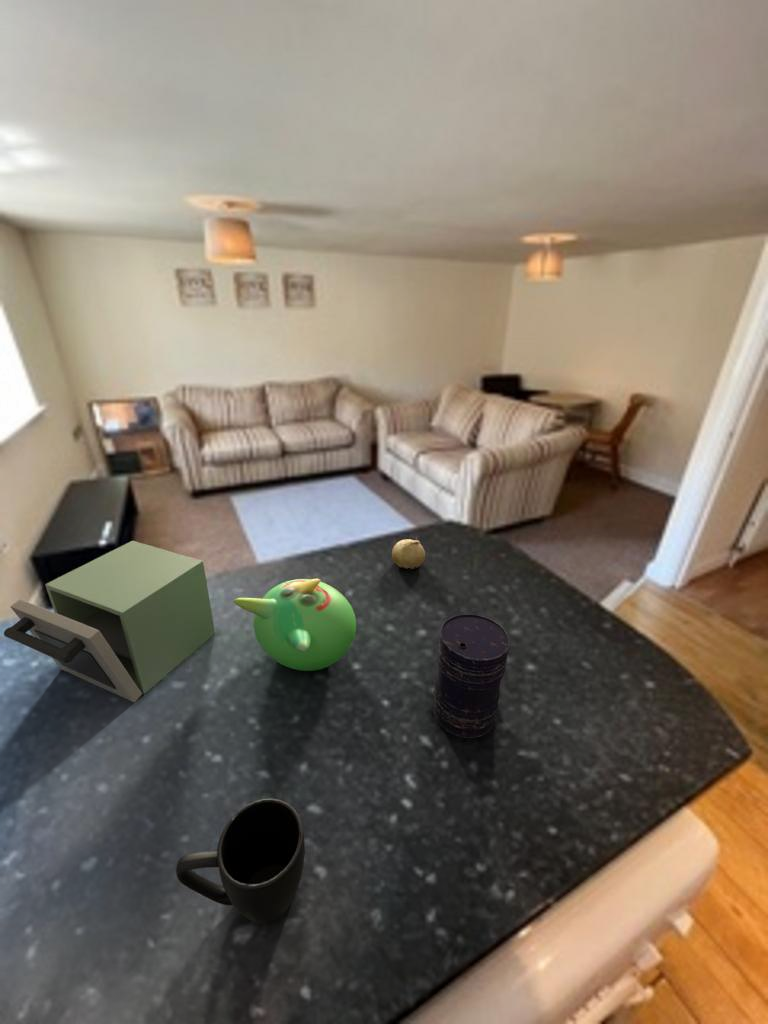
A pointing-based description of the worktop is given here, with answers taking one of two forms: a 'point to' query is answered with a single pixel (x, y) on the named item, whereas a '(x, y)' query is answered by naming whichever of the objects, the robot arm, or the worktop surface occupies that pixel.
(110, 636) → the oven
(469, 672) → the dark oil drum
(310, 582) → the toy bird
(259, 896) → the mug
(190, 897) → the worktop surface
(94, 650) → the door
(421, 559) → the onion
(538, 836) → the worktop surface
